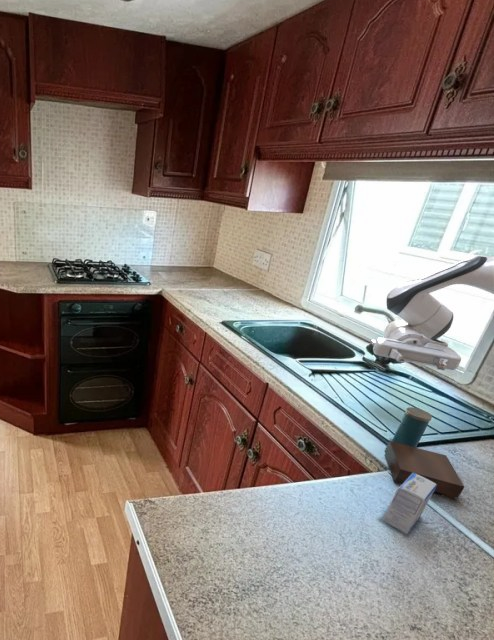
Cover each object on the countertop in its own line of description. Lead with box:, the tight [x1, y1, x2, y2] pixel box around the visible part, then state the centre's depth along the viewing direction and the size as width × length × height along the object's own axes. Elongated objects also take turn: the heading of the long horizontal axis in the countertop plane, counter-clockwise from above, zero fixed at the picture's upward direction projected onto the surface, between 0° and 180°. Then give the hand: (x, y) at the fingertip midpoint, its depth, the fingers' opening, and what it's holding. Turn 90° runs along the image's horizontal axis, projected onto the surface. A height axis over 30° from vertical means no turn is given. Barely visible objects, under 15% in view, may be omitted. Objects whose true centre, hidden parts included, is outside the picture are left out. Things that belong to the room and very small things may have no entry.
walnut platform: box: [384, 440, 465, 500], centre depth 93 cm, size 12×12×4 cm
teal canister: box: [391, 406, 433, 448], centre depth 102 cm, size 5×5×10 cm
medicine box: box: [382, 473, 437, 535], centre depth 78 cm, size 8×4×9 cm, turn 130°
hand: (421, 363), depth 107 cm, fingers open, 8 cm apart
